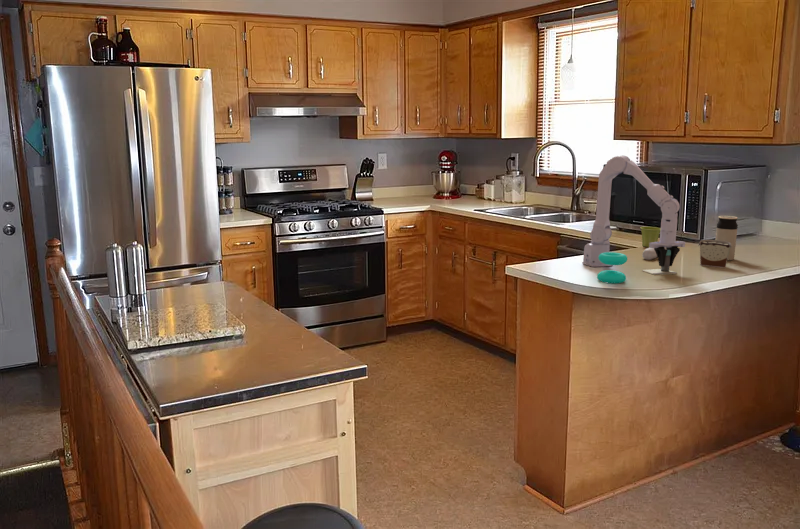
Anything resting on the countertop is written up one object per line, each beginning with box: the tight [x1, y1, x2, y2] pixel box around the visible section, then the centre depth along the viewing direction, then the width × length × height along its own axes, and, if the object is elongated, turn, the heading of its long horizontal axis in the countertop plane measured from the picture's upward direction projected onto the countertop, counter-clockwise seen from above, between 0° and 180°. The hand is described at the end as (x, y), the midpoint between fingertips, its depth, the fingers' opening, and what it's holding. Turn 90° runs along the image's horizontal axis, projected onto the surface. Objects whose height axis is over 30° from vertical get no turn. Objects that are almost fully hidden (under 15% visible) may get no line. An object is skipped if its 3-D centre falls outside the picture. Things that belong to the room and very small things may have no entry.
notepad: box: [641, 268, 678, 276], centre depth 274 cm, size 10×8×1 cm
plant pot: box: [639, 226, 661, 248], centre depth 332 cm, size 9×9×9 cm
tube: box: [641, 247, 667, 261], centre depth 308 cm, size 5×5×25 cm
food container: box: [698, 239, 732, 269], centre depth 289 cm, size 12×6×10 cm, turn 59°
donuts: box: [596, 251, 628, 284], centre depth 257 cm, size 10×10×10 cm
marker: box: [660, 250, 671, 272], centre depth 274 cm, size 3×3×8 cm
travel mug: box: [714, 215, 738, 261], centre depth 302 cm, size 8×8×18 cm
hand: (665, 265), depth 275 cm, fingers closed on marker, 3 cm apart
